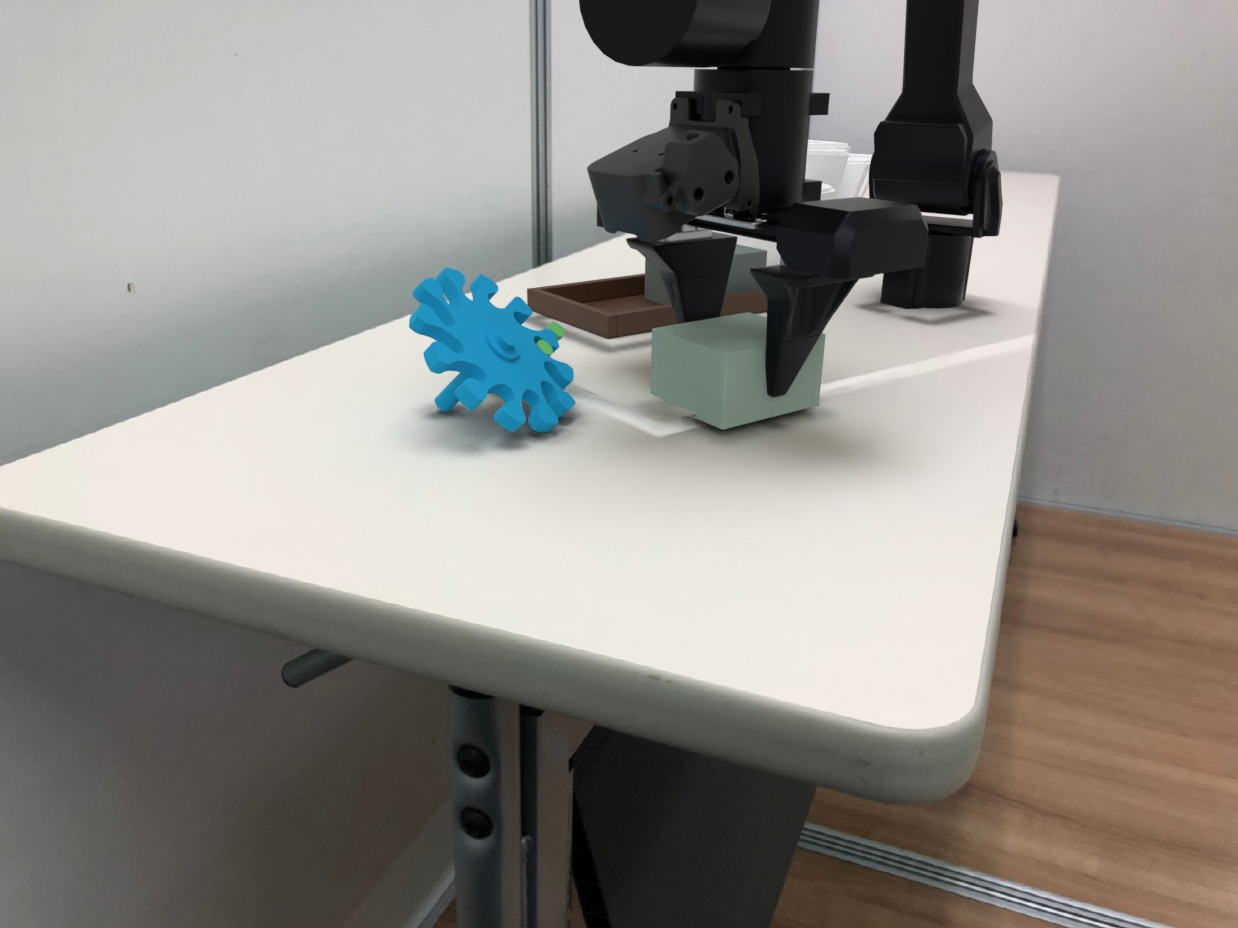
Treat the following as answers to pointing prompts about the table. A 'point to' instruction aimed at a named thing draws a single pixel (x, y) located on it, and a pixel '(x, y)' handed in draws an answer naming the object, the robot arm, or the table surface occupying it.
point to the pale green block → (727, 371)
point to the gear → (491, 352)
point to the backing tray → (621, 306)
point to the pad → (737, 280)
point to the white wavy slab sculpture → (824, 182)
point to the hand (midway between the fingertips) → (735, 380)
